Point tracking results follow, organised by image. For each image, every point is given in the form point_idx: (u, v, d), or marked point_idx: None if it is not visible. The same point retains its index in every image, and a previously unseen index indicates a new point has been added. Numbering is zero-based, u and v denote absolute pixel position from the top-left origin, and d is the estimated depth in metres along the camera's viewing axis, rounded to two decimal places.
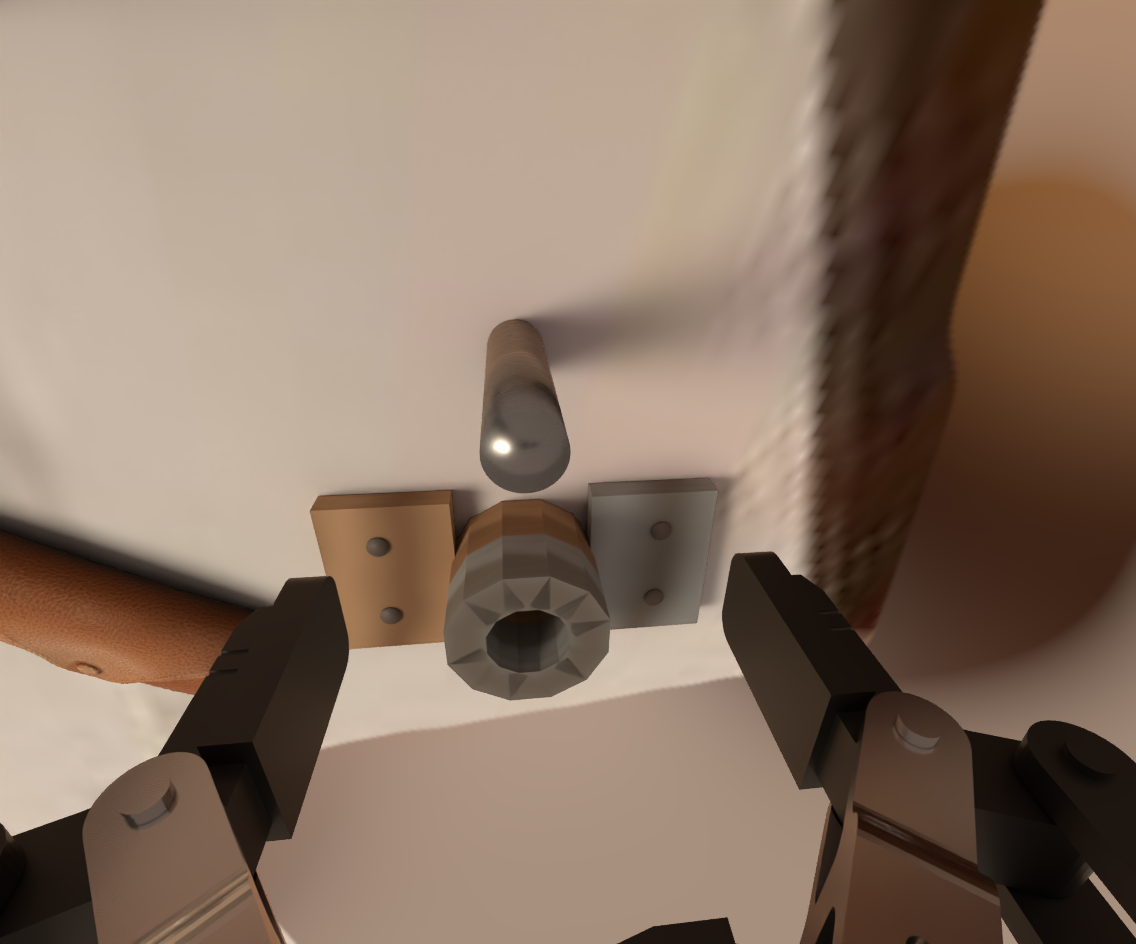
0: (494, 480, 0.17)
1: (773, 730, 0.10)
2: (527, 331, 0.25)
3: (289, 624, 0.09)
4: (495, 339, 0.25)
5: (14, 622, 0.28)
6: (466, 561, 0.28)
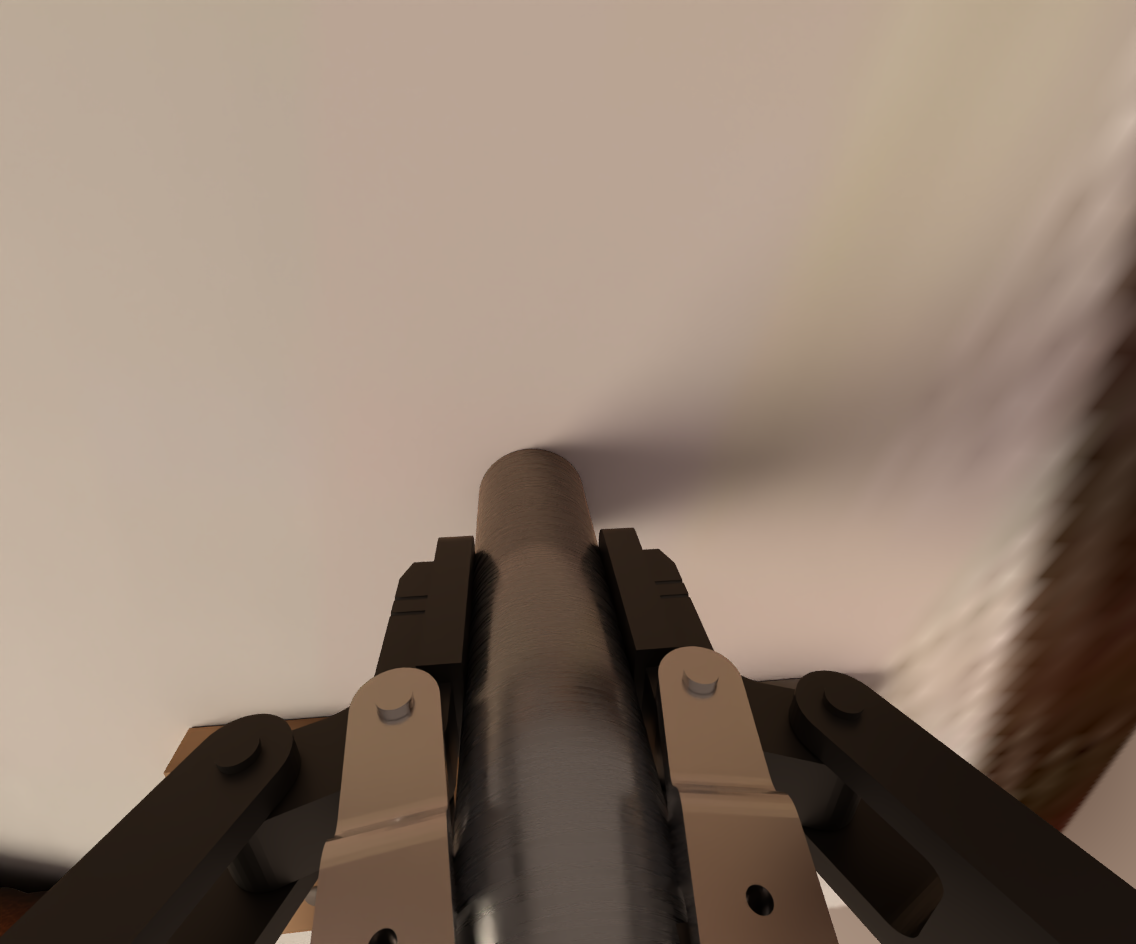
0: None
1: None
2: (558, 488, 0.13)
3: (455, 573, 0.10)
4: (493, 509, 0.12)
5: None
6: None
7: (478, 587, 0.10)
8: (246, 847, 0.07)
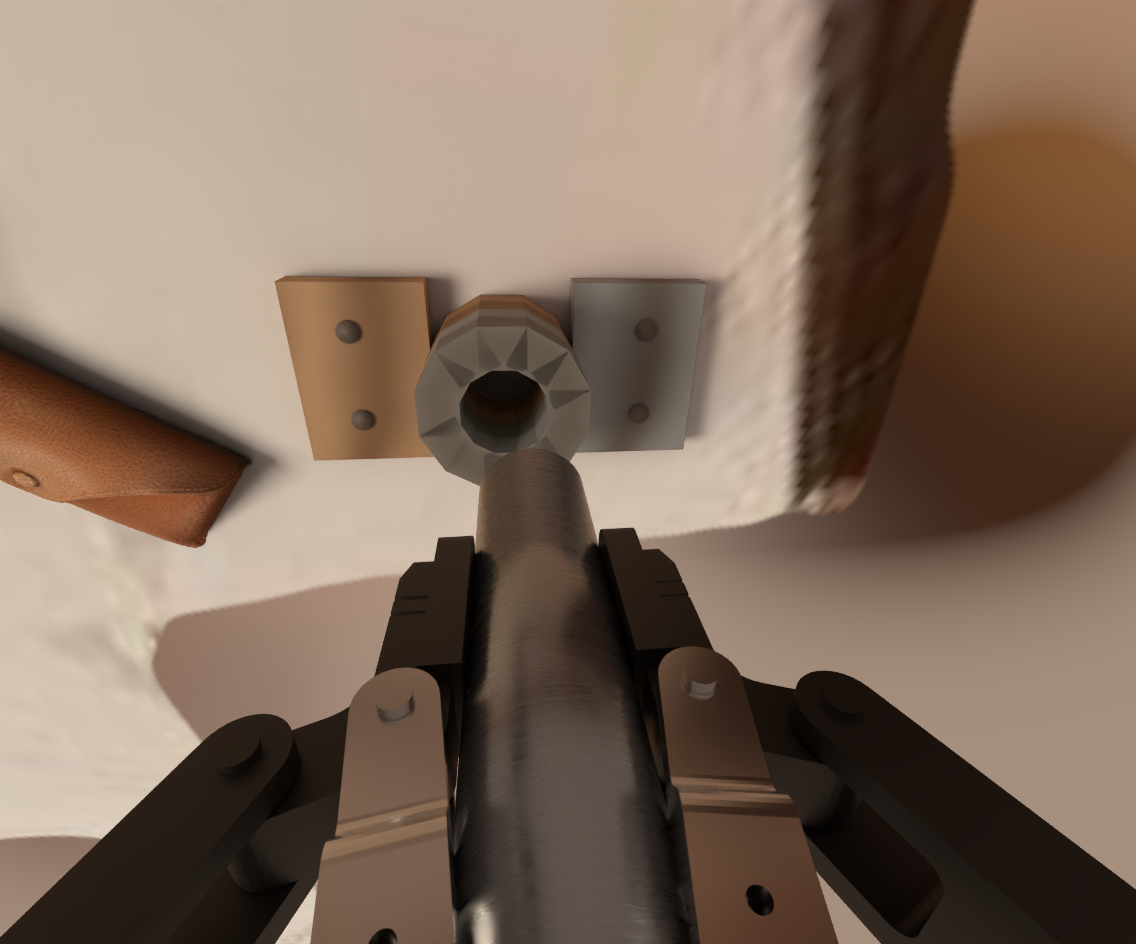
0: None
1: None
2: (558, 487, 0.13)
3: (455, 573, 0.10)
4: (494, 509, 0.12)
5: None
6: (441, 334, 0.27)
7: (478, 586, 0.10)
8: (246, 847, 0.07)
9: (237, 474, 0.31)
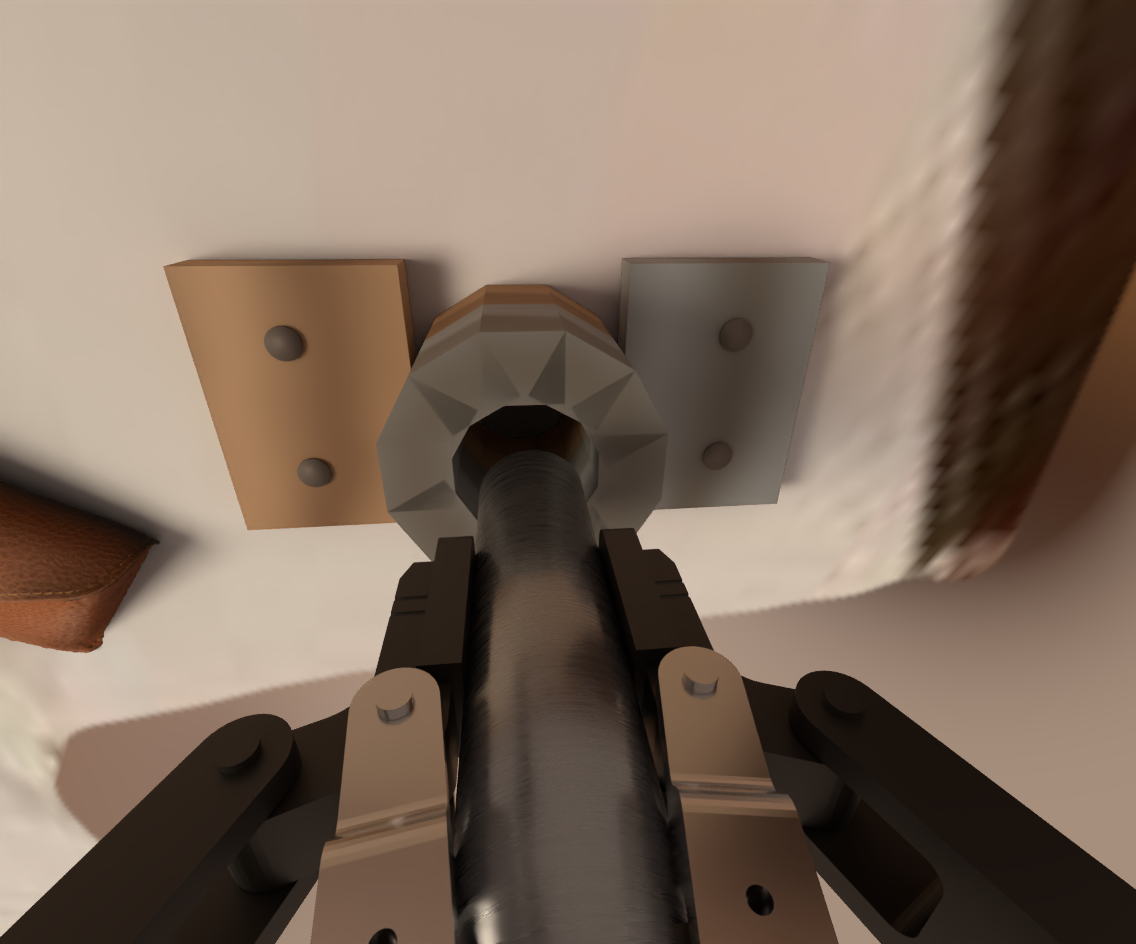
0: None
1: None
2: (558, 489, 0.13)
3: (455, 573, 0.10)
4: (494, 510, 0.12)
5: None
6: (423, 346, 0.17)
7: (478, 588, 0.10)
8: (246, 847, 0.07)
9: (129, 565, 0.22)
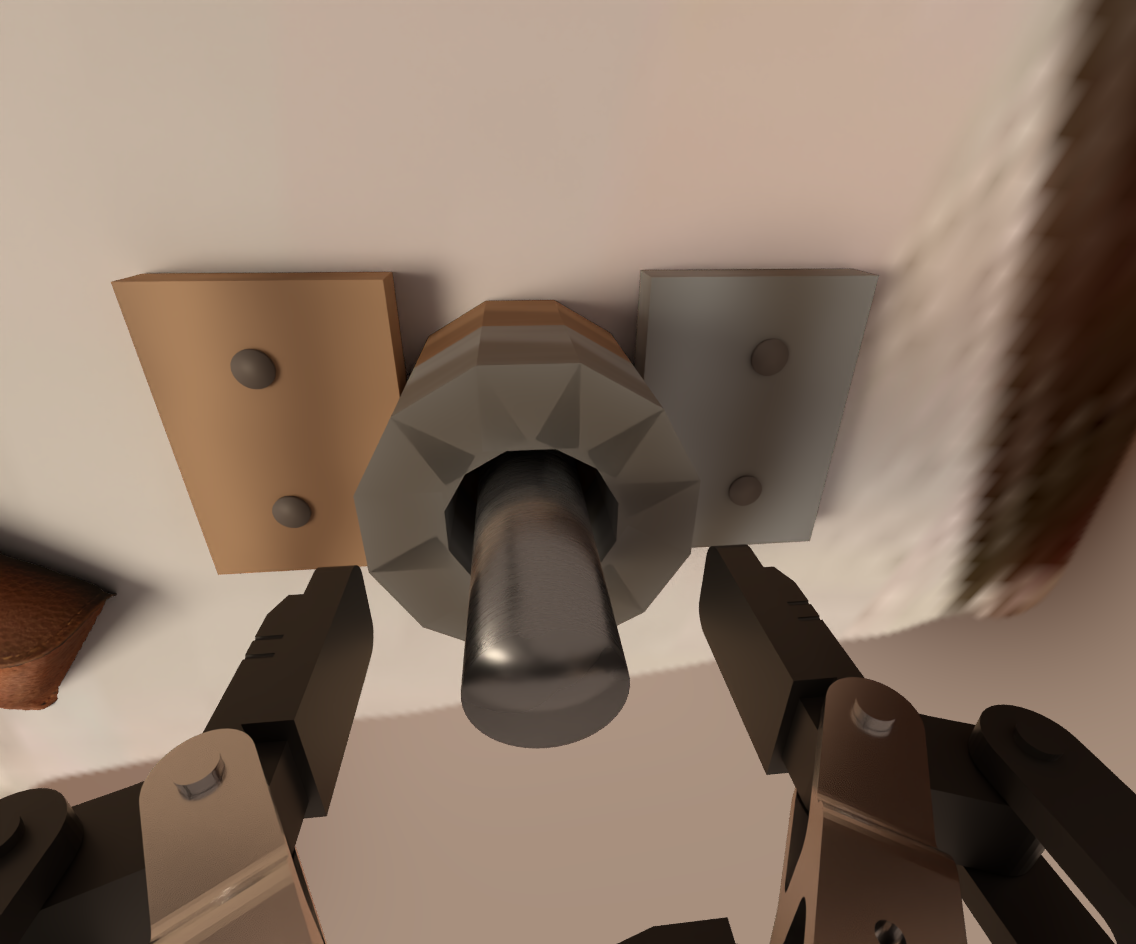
0: (489, 732, 0.09)
1: (744, 718, 0.10)
2: None
3: (321, 610, 0.09)
4: None
5: None
6: (411, 375, 0.14)
7: None
8: (28, 939, 0.06)
9: (78, 624, 0.19)
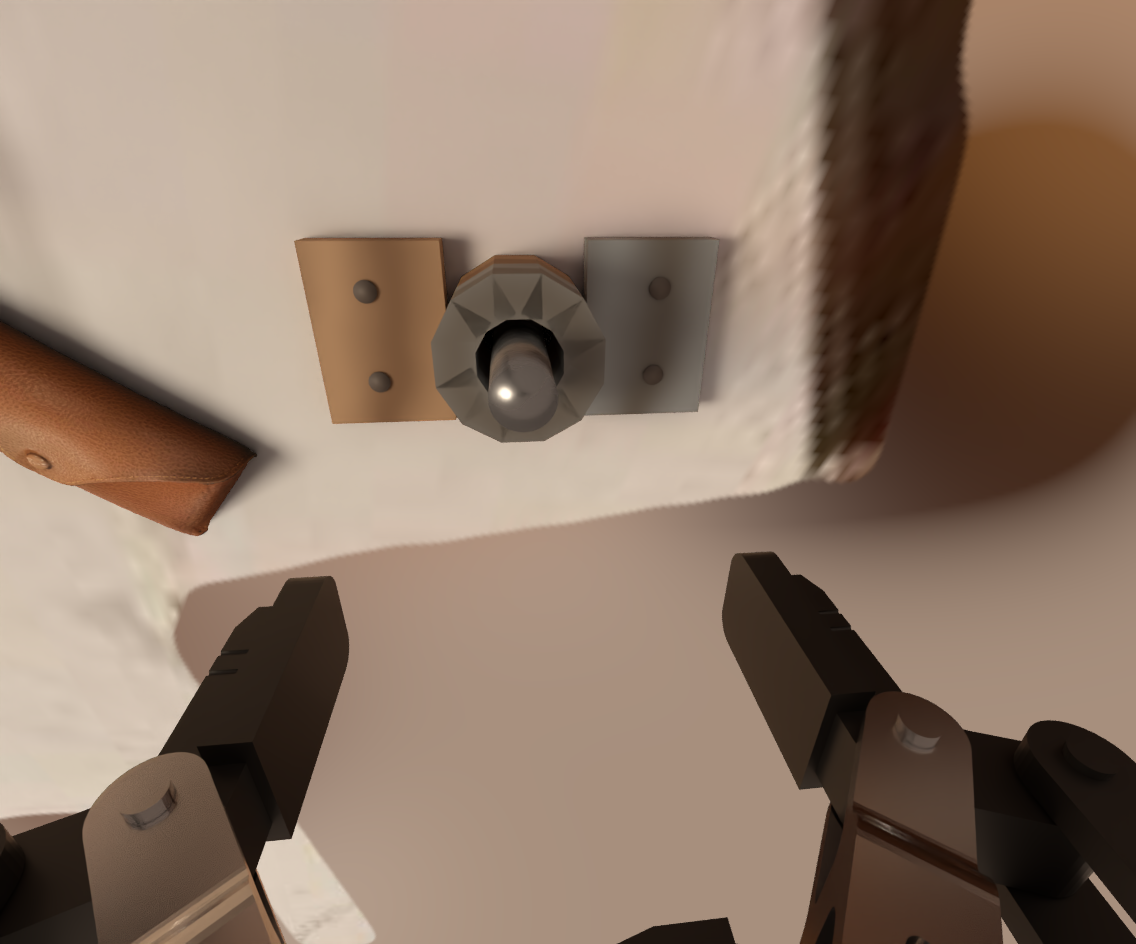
0: (499, 421, 0.22)
1: (773, 730, 0.10)
2: None
3: (289, 624, 0.09)
4: None
5: None
6: (456, 289, 0.27)
7: (495, 336, 0.28)
8: None
9: (242, 465, 0.33)
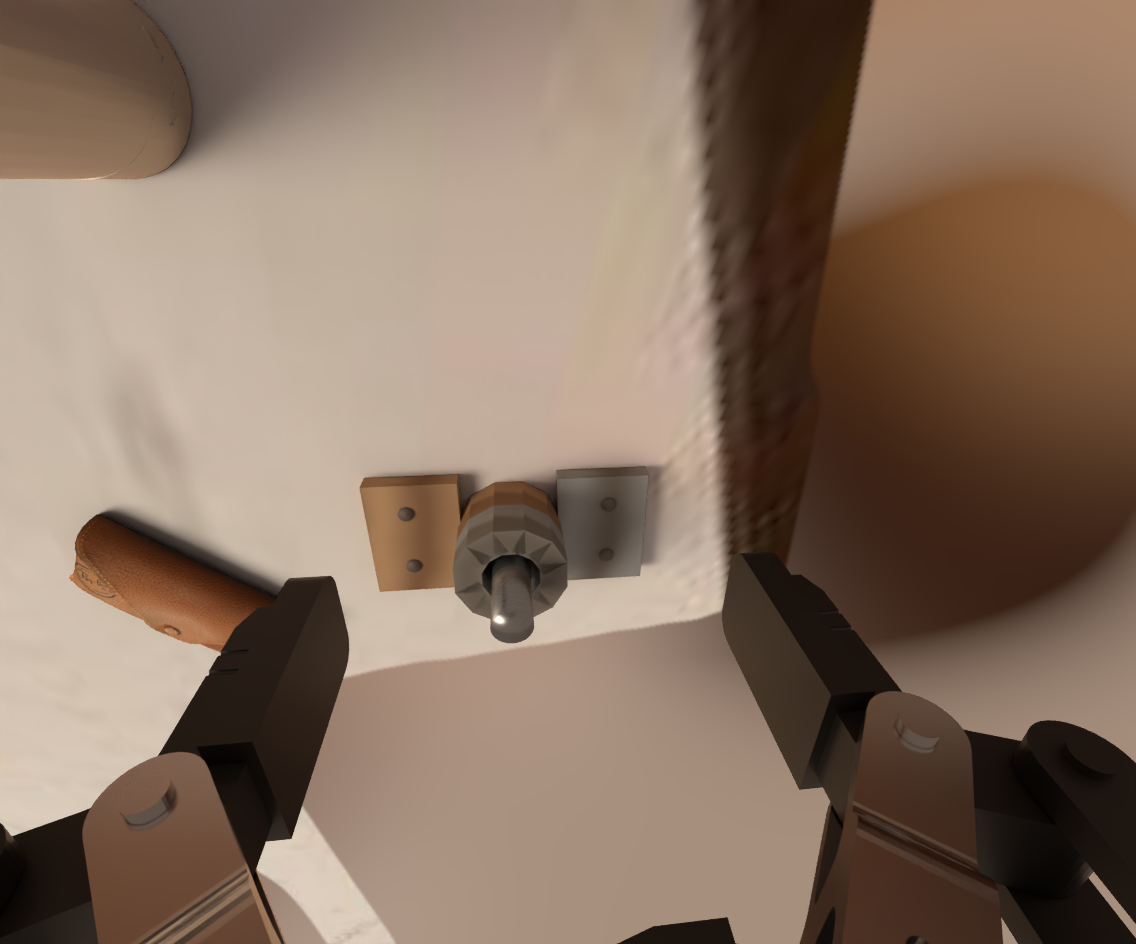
0: (497, 638, 0.36)
1: (773, 730, 0.10)
2: None
3: (289, 624, 0.09)
4: None
5: (136, 594, 0.41)
6: (468, 523, 0.41)
7: None
8: None
9: None
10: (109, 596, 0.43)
